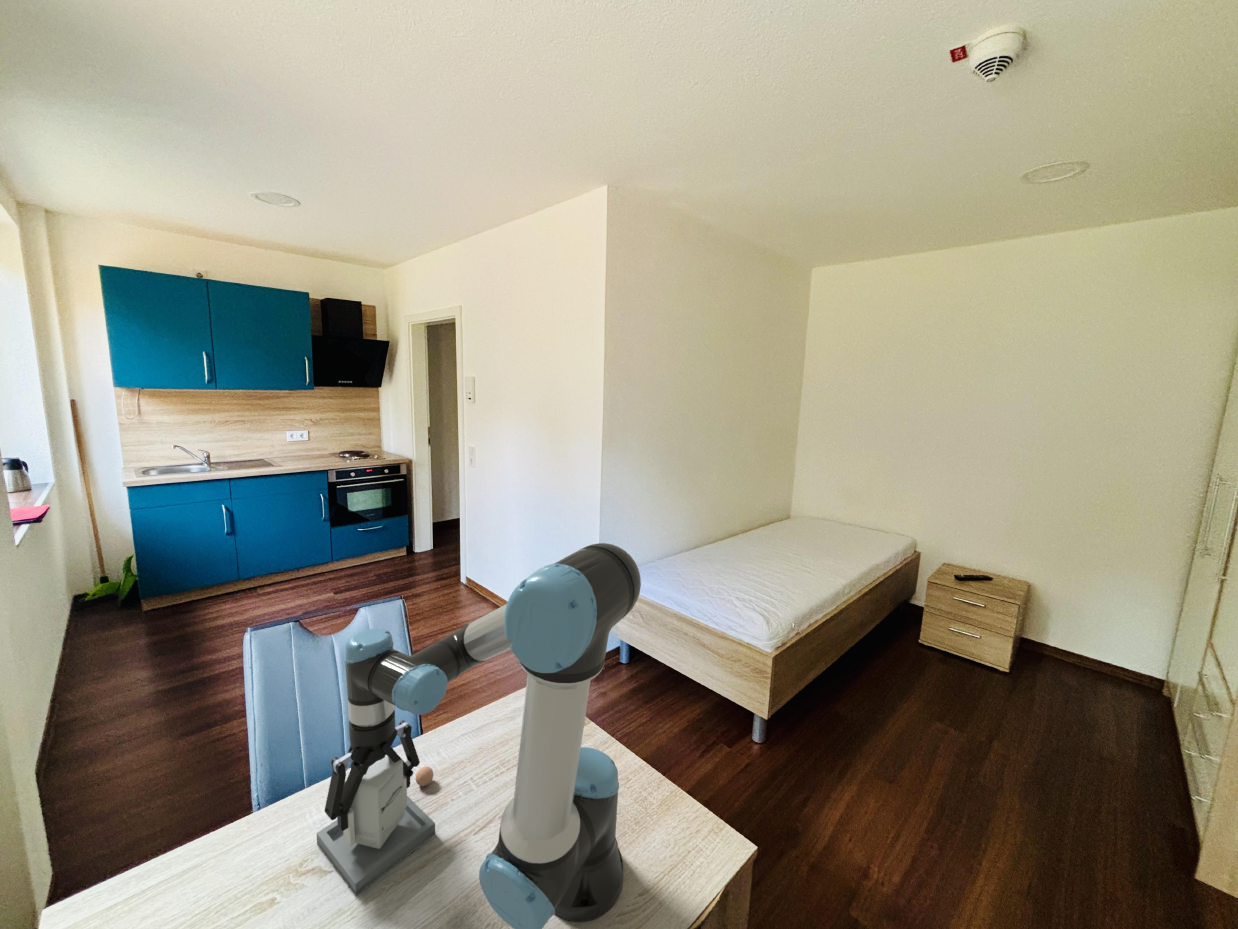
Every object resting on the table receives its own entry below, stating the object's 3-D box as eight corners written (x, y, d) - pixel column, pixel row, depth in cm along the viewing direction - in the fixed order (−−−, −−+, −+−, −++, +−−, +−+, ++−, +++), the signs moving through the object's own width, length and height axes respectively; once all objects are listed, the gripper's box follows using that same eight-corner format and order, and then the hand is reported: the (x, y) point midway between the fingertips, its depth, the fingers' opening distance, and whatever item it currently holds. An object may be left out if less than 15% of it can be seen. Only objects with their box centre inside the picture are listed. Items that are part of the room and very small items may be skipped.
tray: (435, 834, 95) (435, 823, 94) (355, 896, 83) (355, 884, 82) (394, 793, 104) (393, 783, 103) (317, 844, 92) (316, 833, 91)
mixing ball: (436, 782, 107) (436, 768, 106) (421, 793, 104) (421, 778, 103) (427, 774, 109) (427, 760, 108) (412, 784, 106) (412, 769, 106)
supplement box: (380, 850, 89) (377, 789, 86) (345, 841, 90) (341, 781, 88) (406, 816, 96) (404, 759, 94) (373, 808, 97) (370, 751, 95)
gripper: (416, 679, 100) (419, 776, 103) (295, 738, 82) (304, 852, 86) (438, 693, 95) (439, 794, 99) (315, 759, 78) (322, 878, 82)
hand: (376, 821), depth 93 cm, fingers closed on supplement box, 9 cm apart
